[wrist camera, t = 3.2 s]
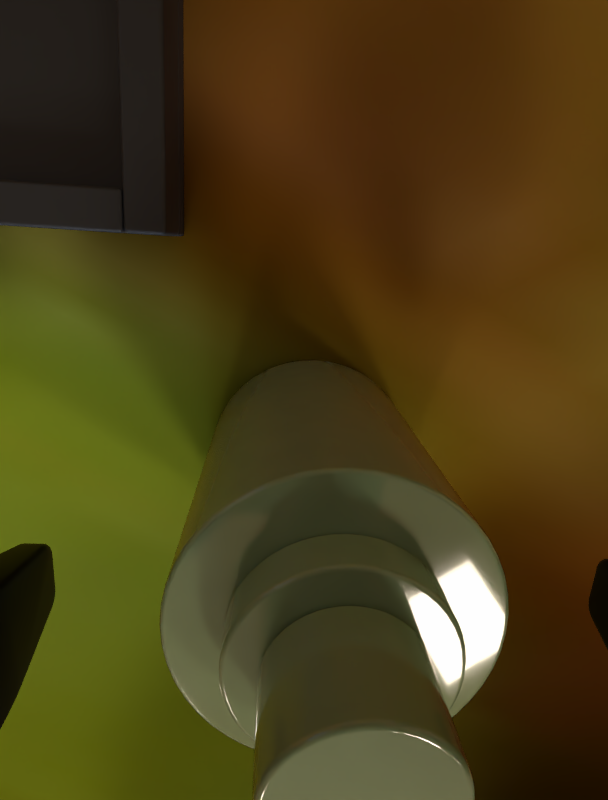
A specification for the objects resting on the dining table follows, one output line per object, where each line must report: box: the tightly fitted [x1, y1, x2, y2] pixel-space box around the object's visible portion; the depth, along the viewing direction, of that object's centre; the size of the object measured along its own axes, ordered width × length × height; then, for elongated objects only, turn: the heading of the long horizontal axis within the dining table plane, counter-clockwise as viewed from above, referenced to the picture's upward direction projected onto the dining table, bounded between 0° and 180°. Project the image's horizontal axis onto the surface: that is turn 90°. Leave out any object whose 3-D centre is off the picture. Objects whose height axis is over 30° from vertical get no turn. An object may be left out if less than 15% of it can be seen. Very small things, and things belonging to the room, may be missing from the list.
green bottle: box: [160, 360, 509, 800], centre depth 9 cm, size 5×5×9 cm
